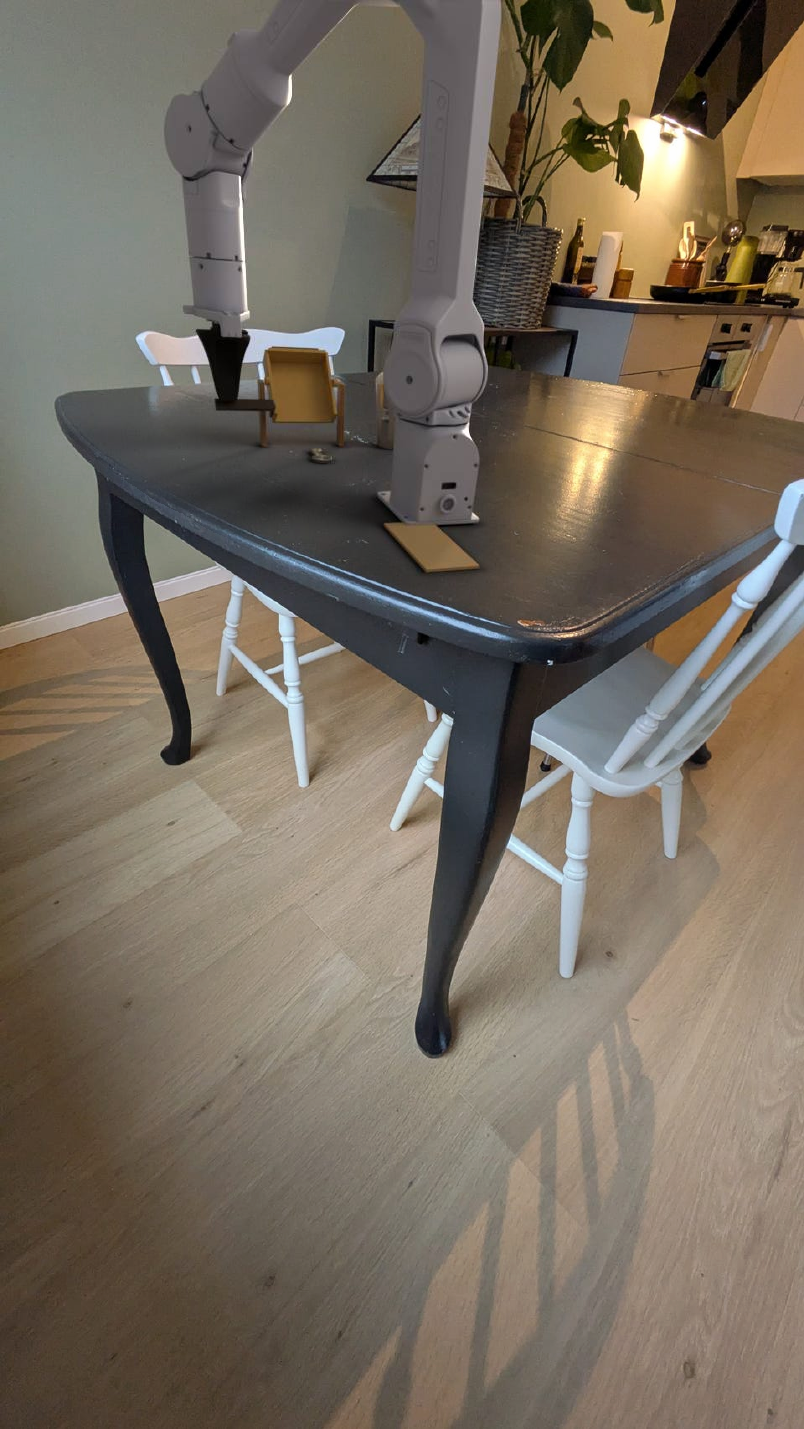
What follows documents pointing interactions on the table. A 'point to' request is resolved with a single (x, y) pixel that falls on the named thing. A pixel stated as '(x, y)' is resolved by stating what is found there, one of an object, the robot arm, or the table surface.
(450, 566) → the mat
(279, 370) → the tray
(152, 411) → the table surface
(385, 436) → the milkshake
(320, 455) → the key
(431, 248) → the robot arm
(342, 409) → the stand
